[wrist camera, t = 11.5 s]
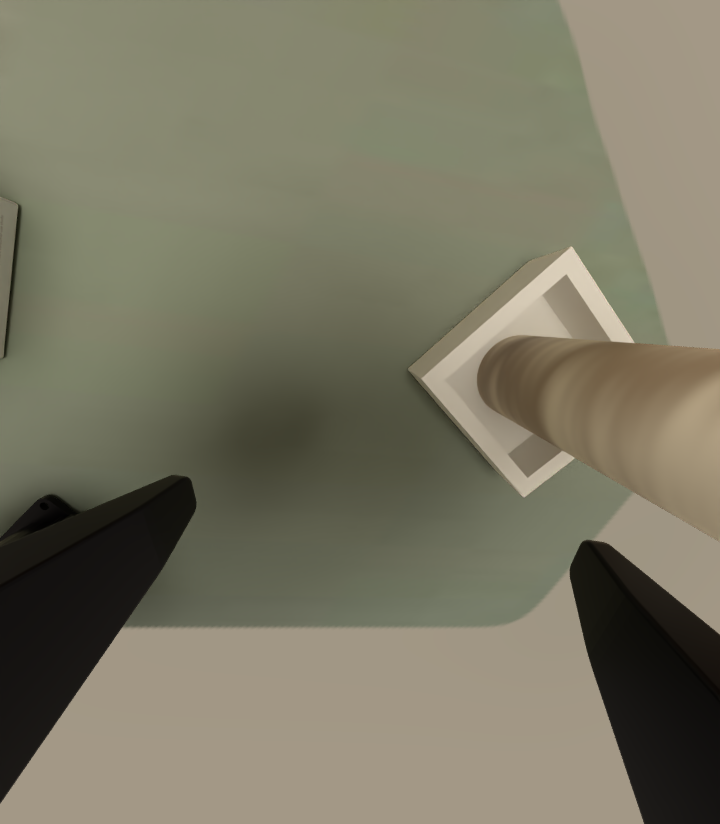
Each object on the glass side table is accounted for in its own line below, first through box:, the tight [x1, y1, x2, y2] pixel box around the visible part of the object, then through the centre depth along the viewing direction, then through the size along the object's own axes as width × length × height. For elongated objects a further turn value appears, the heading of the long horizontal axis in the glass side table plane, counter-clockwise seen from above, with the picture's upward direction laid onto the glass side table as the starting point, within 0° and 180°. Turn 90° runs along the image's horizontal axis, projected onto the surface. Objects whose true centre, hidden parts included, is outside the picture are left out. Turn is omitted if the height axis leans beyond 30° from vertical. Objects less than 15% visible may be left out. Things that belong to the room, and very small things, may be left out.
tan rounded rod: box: [477, 335, 720, 542], centre depth 12 cm, size 4×4×13 cm
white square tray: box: [408, 246, 634, 497], centre depth 18 cm, size 9×9×4 cm
